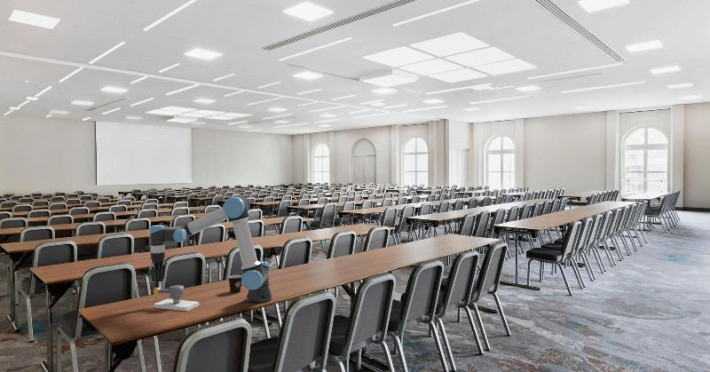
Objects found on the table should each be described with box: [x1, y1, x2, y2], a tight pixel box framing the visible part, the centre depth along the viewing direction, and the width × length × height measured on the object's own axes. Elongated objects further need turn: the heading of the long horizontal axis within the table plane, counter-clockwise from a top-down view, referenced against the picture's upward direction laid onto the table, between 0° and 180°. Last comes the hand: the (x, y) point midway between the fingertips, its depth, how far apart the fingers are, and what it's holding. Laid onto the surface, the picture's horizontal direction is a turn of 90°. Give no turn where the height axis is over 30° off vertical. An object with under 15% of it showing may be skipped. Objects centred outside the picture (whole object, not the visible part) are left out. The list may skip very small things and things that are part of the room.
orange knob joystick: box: [153, 284, 185, 300], centre depth 251 cm, size 16×8×6 cm, turn 94°
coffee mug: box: [228, 274, 244, 294], centre depth 284 cm, size 12×9×10 cm
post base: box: [153, 297, 200, 312], centre depth 252 cm, size 22×11×6 cm, turn 74°
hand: (158, 292), depth 253 cm, fingers closed
